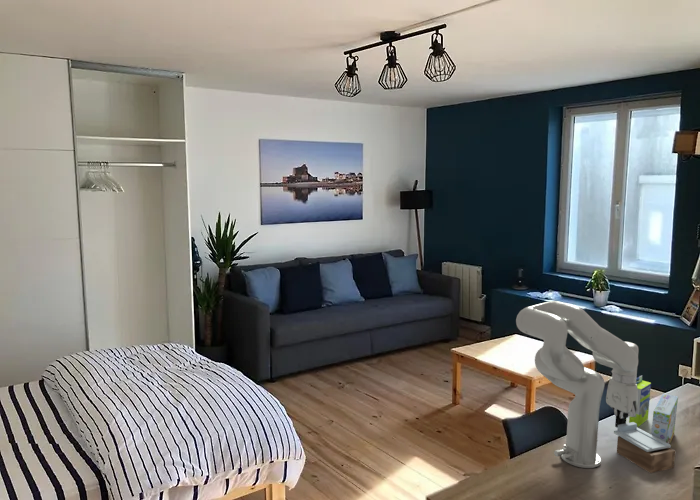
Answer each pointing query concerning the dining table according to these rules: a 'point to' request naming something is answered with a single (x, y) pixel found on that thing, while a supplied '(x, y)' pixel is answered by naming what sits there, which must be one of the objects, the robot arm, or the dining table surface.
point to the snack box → (665, 418)
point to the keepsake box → (646, 456)
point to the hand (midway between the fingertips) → (620, 427)
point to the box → (642, 402)
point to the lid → (640, 437)
